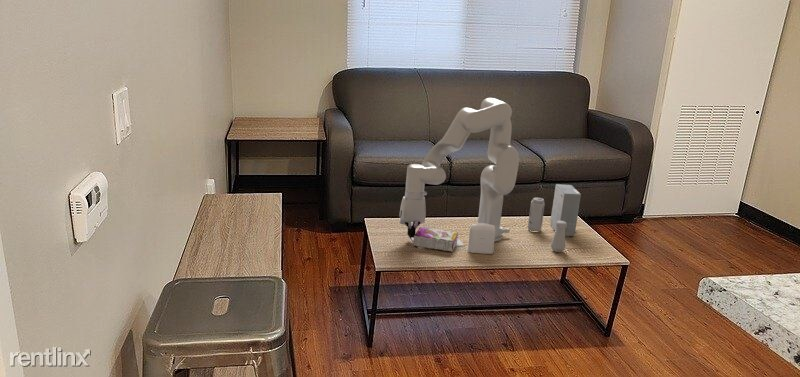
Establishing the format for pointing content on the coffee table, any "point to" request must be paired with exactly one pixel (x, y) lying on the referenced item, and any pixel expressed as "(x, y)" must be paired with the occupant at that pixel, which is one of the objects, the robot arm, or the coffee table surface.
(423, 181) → the robot arm
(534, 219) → the energy drink can
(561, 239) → the salt shaker
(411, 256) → the coffee table surface
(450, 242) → the candy bar box
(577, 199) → the hard drive box
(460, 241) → the mat
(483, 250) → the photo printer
